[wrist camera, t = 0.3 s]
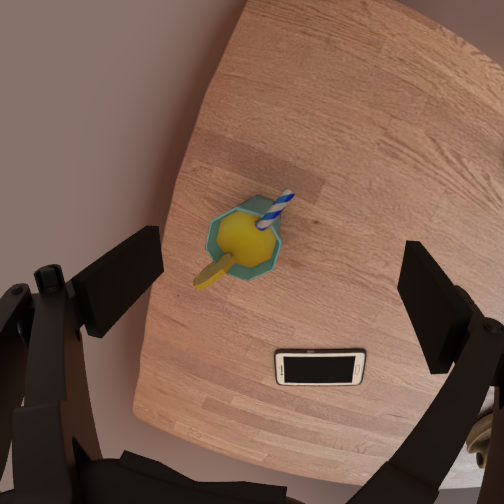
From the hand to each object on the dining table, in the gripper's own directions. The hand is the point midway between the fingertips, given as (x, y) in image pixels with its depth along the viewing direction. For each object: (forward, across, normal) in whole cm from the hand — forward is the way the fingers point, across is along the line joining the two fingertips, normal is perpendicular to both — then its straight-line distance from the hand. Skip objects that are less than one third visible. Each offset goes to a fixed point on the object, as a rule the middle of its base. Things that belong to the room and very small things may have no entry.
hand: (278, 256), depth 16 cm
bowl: (+24, +50, -50) cm, 75 cm away
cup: (+24, -4, -4) cm, 24 cm away
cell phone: (+24, +5, -29) cm, 38 cm away
